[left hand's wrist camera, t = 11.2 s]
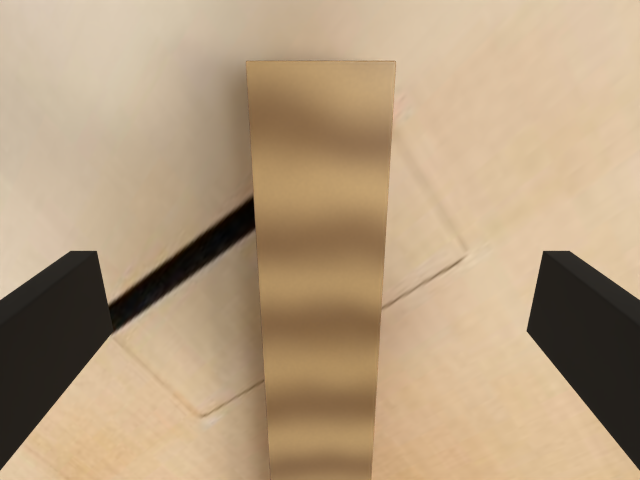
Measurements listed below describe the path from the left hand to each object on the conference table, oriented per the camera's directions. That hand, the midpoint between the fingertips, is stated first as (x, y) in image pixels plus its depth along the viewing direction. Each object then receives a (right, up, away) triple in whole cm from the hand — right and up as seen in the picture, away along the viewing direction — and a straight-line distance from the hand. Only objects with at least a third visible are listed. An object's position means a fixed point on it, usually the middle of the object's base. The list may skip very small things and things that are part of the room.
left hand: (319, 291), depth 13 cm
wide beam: (0, -9, +29) cm, 30 cm away
